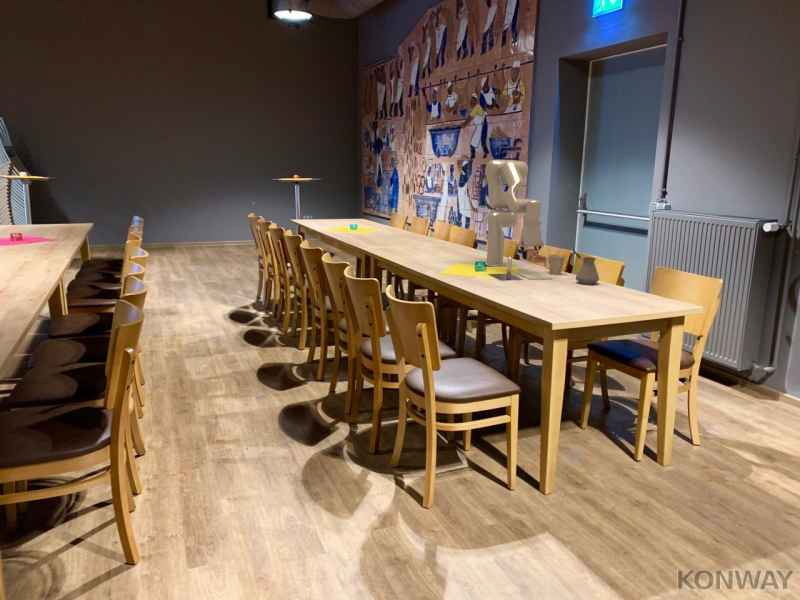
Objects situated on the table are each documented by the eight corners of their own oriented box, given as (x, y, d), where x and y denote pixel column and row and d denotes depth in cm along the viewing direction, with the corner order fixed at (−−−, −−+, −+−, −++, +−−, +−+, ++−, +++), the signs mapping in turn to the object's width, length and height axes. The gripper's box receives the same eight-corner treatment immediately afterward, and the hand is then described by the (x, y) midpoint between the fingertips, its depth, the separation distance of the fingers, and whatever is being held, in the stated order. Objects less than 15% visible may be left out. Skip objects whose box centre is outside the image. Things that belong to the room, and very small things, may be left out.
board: (513, 274, 334) (513, 271, 333) (533, 274, 337) (533, 270, 336) (529, 282, 315) (530, 278, 314) (551, 281, 318) (551, 277, 317)
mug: (556, 275, 334) (558, 257, 332) (538, 272, 344) (539, 254, 341) (566, 274, 339) (567, 256, 337) (547, 270, 349) (548, 253, 347)
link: (522, 258, 329) (523, 249, 328) (532, 258, 330) (533, 249, 329) (535, 262, 315) (535, 253, 314) (545, 262, 317) (545, 252, 316)
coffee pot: (603, 285, 311) (606, 255, 308) (583, 285, 308) (586, 255, 305) (579, 277, 331) (582, 249, 328) (560, 277, 328) (562, 249, 325)
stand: (486, 276, 329) (488, 253, 326) (509, 275, 332) (511, 253, 329) (500, 282, 312) (501, 258, 309) (524, 281, 315) (525, 258, 312)
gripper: (543, 223, 329) (541, 257, 333) (513, 223, 325) (511, 258, 329) (550, 224, 322) (548, 259, 326) (519, 225, 318) (517, 260, 321)
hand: (529, 258), depth 327 cm, fingers closed on link, 5 cm apart
